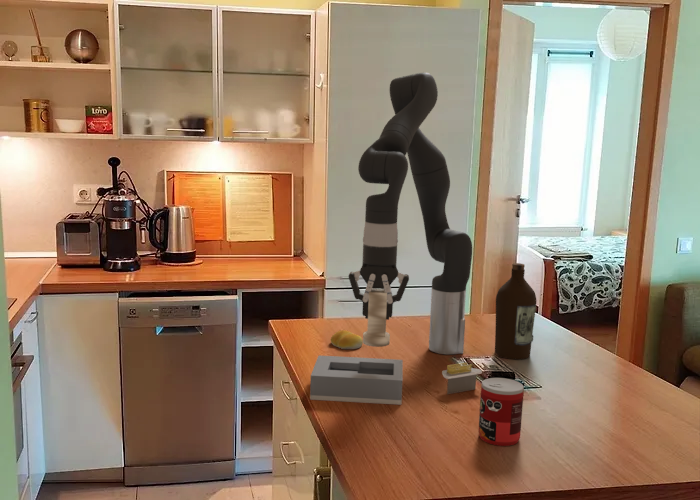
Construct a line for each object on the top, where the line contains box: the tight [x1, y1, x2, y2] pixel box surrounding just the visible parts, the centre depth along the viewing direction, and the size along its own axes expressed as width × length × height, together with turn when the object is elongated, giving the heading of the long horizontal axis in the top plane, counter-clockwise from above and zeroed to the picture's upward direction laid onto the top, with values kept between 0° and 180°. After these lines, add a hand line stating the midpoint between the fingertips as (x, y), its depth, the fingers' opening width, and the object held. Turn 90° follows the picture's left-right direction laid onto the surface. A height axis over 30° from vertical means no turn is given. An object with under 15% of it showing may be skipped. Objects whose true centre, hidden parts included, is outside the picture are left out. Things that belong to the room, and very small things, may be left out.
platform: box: [441, 362, 483, 395], centre depth 156 cm, size 12×18×7 cm, turn 117°
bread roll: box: [330, 329, 364, 350], centre depth 188 cm, size 8×9×4 cm
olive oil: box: [494, 262, 537, 360], centre depth 182 cm, size 11×11×25 cm
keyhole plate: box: [309, 355, 404, 406], centre depth 154 cm, size 20×14×6 cm
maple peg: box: [362, 288, 391, 348], centre depth 152 cm, size 6×6×12 cm
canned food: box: [478, 377, 525, 447], centre depth 131 cm, size 8×8×11 cm
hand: (377, 317), depth 152 cm, fingers closed on maple peg, 4 cm apart
